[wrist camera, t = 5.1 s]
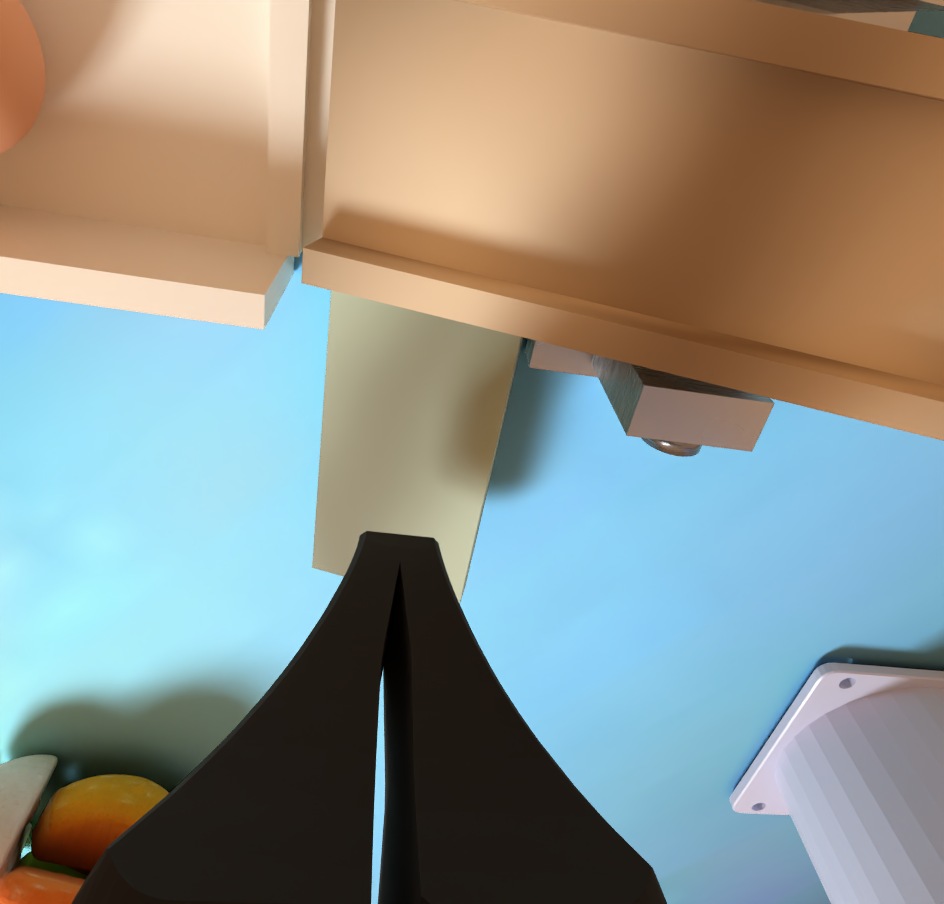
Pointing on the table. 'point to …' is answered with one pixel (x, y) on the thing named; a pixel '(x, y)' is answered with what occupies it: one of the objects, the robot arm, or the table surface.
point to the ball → (19, 73)
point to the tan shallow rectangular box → (170, 156)
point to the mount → (684, 399)
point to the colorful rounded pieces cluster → (61, 827)
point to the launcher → (612, 227)
